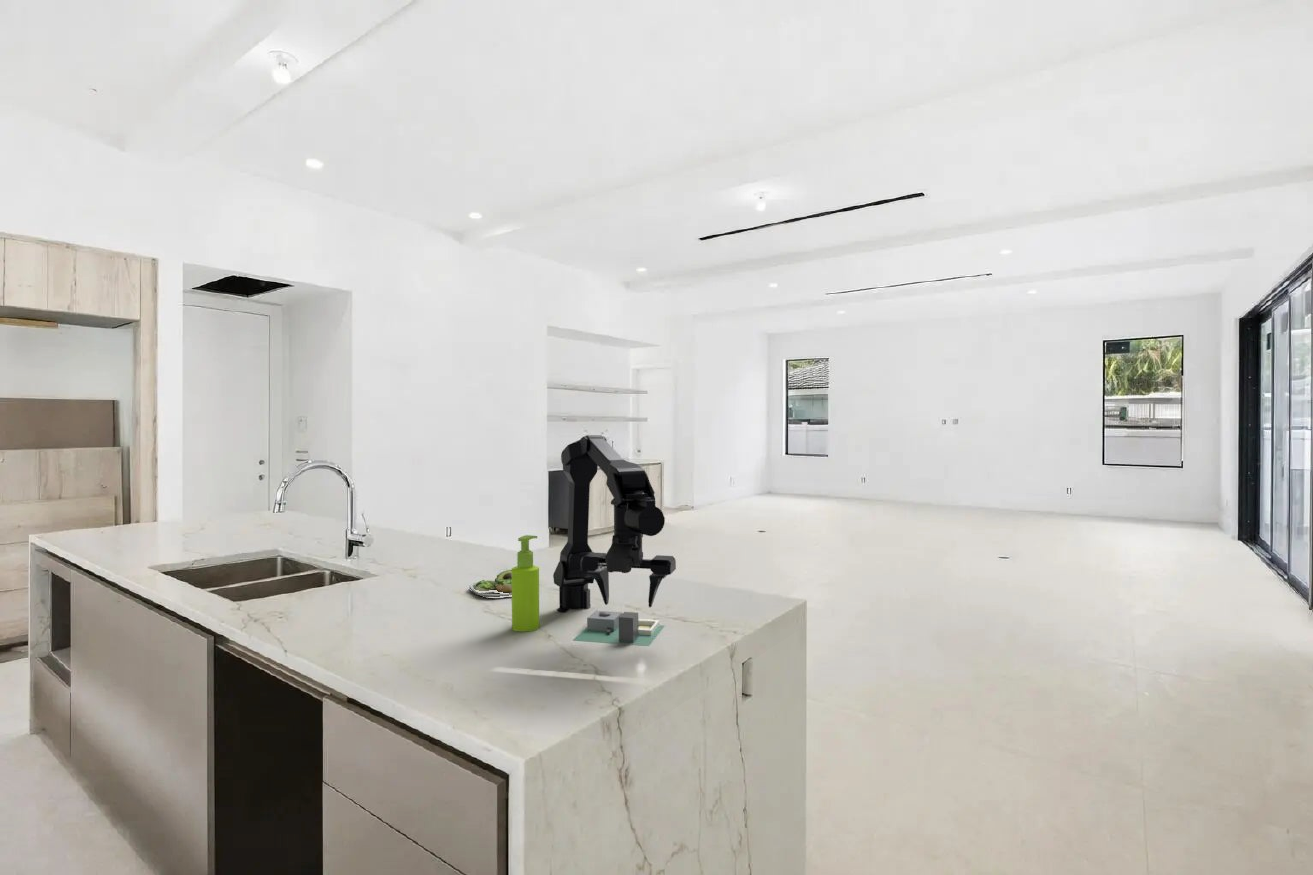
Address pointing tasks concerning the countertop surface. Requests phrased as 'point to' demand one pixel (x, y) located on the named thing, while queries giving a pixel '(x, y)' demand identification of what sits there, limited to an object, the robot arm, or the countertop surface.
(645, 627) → the board
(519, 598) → the soap dispenser
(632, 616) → the plug
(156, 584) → the countertop surface
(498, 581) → the salad plate
